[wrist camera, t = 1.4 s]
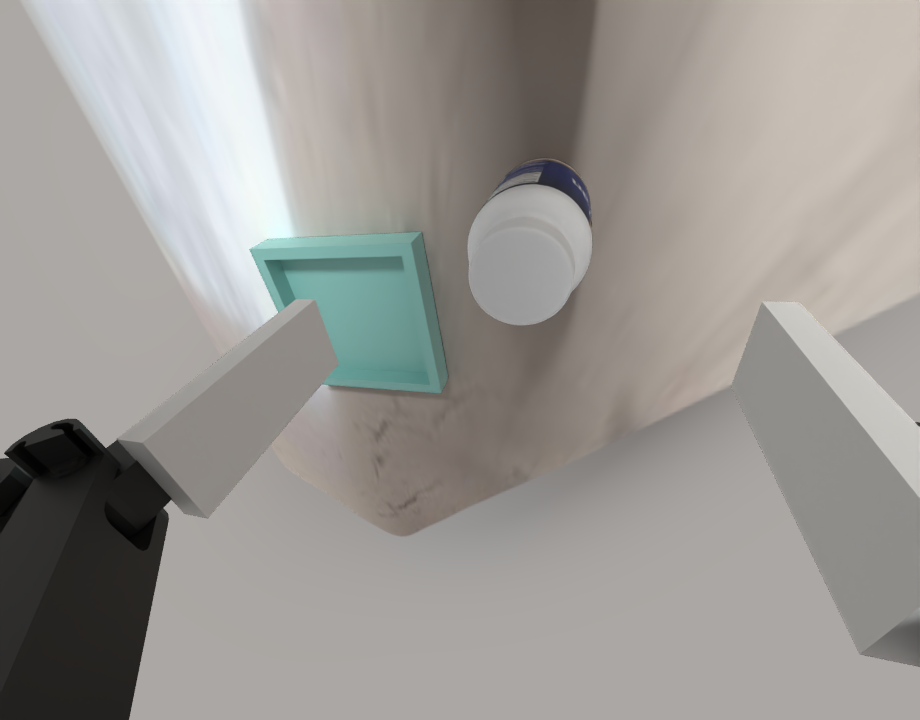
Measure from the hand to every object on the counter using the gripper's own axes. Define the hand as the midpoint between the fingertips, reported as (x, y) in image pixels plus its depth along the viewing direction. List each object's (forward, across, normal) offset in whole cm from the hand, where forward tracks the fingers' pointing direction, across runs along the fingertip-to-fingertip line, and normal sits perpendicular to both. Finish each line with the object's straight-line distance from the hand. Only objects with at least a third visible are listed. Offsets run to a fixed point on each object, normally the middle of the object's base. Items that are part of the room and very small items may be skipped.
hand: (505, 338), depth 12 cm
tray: (+13, -14, -6) cm, 20 cm away
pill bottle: (+13, 0, 0) cm, 13 cm away
